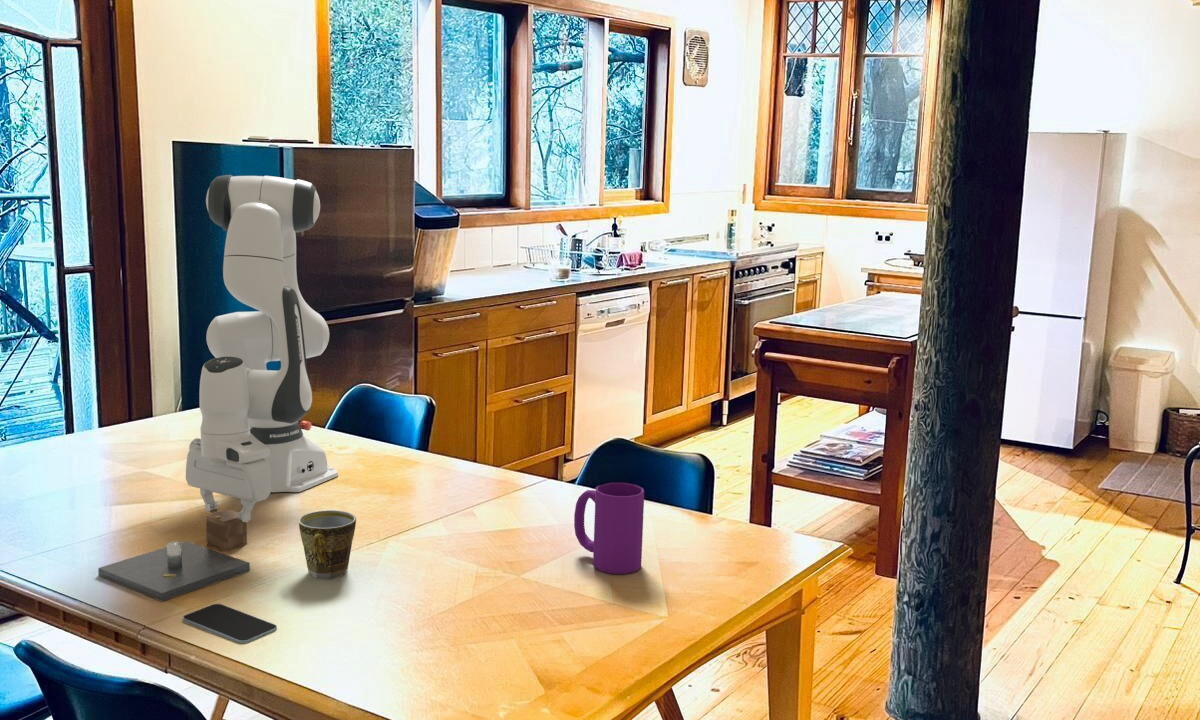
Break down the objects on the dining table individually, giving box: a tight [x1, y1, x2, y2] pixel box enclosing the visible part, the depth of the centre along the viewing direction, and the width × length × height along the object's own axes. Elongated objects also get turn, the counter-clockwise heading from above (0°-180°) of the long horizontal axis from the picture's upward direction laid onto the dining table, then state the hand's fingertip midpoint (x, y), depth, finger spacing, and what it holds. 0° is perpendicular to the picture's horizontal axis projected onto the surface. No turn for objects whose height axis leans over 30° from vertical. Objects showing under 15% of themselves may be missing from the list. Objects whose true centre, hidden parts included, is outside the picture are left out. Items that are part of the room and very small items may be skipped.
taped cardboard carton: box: [205, 509, 248, 552], centre depth 217 cm, size 5×5×6 cm
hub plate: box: [98, 540, 251, 602], centre depth 202 cm, size 18×18×6 cm
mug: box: [573, 482, 645, 575], centre depth 214 cm, size 9×16×15 cm, turn 47°
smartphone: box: [182, 603, 278, 644], centre depth 183 cm, size 7×1×15 cm
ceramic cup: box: [298, 509, 357, 580], centre depth 204 cm, size 13×10×10 cm
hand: (227, 516), depth 216 cm, fingers open, 8 cm apart
